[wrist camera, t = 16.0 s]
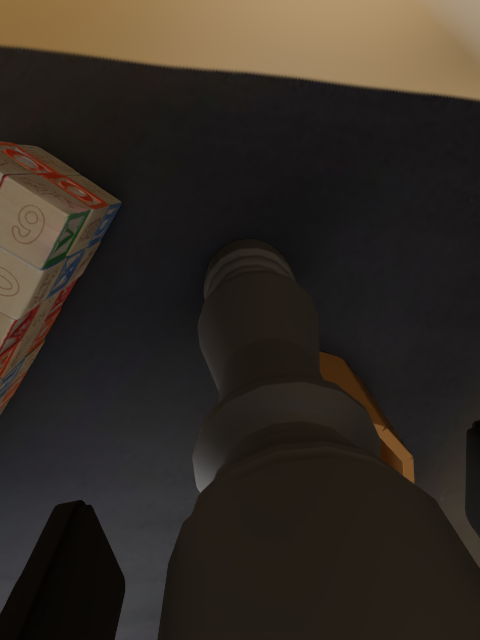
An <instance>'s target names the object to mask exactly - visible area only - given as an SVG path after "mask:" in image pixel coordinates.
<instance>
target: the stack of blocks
mask: <svg viewBox="0 0 480 640" xmlns="http://www.w3.org/2000/svg"><path fill="white" fill-rule="evenodd" d="M121 204H122V202H121V201H120V200H118V199H117V198H115V197H113V196H112V195H110V194H109V193H107V192H106V191H104V190H103V189H101V188H100V187H99V186H97V185H96V184H94V183H93V182H91V181H90V180H88V179H87V178H85V177H83V176H82V175H80V174H79V173H78V172H77V171H75V170H74V169H72V168H71V167H69V166H68V165H66V164H65V163H63V162H62V161H60V160H59V159H57V158H56V157H54V156H53V155H51V154H50V153H48V152H46V151H45V150H43V149H41V148H39V147H36V146H30V145H19V144H14V143H10V142H1V141H0V415H1V414H2V412H3V410H4V408H5V407H6V405H7V403H8V402H9V400H10V398H11V397H12V396H13V395H14V393H15V392H16V390H17V388H18V387H19V385H20V383H21V381H22V380H23V378H24V376H25V374H26V373H27V371H28V369H29V367H30V366H31V364H32V363H33V361H34V359H35V358H36V356H37V354H38V352H39V351H40V349H41V347H42V345H43V343H44V342H45V336H46V335H47V333H48V332H49V330H50V328H51V326H52V324H53V323H54V321H55V319H56V317H57V316H58V314H59V312H60V311H61V307H62V305H63V303H64V302H65V300H66V298H67V297H68V295H69V293H70V291H71V290H72V288H73V286H74V284H75V282H76V281H77V279H78V277H80V276H81V275H82V274H83V272H84V270H85V269H86V267H87V265H88V264H89V262H90V260H91V258H92V257H93V255H94V253H95V251H96V250H97V248H98V246H99V244H100V242H101V239H102V238H103V236H104V234H105V233H106V231H107V229H108V227H109V226H110V224H111V222H112V220H113V219H114V217H115V215H116V213H117V211H118V210H119V208H120V206H121Z"/></svg>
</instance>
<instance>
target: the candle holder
mask: <svg viewBox="0 0 480 640" xmlns="http://www.w3.org/2000/svg"><path fill="white" fill-rule="evenodd" d="M203 291H204V299H205V301H204V305H203V308H202V311H201V315H200V318H199V321H198V326H197V328H198V335H199V343H200V349H201V351H202V354H203V356H204V358H205V360H206V363H207V365H208V367H209V370H210V372H211V374H212V377H213V379H214V381H215V384H216V386H217V389H218V391H219V403H218V404H217V405H216V406H215V407H214V408H213V410H212V411H211V412H210V413H209V414H208V415H207V416H206V417H205V418H204V420H203V423H202V426H201V429H200V432H199V435H198V438H197V441H196V444H195V447H194V450H193V455H192V461H193V467H194V473H195V480H196V486H197V488H198V490H199V491H200V494H199V496H198V499H197V501H196V504H195V507H194V510H193V512H192V515H191V516H190V517H189V518H188V519H187V520H185V521H184V522H183V524H182V527H181V530H180V533H179V535H178V538H177V541H176V544H175V547H174V549H173V552H172V555H171V558H170V560H169V563H168V570H167V577H166V584H165V591H164V598H163V605H162V612H161V619H160V626H159V634H158V640H480V569H479V567H478V566H477V564H476V562H475V561H474V559H473V558H472V556H471V555H470V553H469V552H468V550H467V548H466V547H465V545H464V544H463V542H462V541H461V539H460V538H459V536H458V534H457V533H456V531H455V530H454V528H453V527H452V525H451V524H450V522H449V520H448V519H447V517H446V516H445V514H444V513H443V511H442V510H441V508H440V507H439V505H438V503H437V502H436V500H435V499H434V498H432V497H431V496H430V495H428V494H427V493H426V492H424V491H423V490H422V489H420V488H419V487H418V486H416V485H415V484H414V483H412V482H411V481H410V480H408V479H407V478H406V477H404V476H403V475H402V474H400V473H399V472H398V471H396V470H395V469H394V468H392V467H391V466H390V465H388V464H387V463H386V462H384V461H383V460H382V459H380V454H381V439H380V437H379V435H378V433H377V430H376V428H375V426H374V424H373V422H372V419H371V417H370V415H369V413H368V411H367V410H366V408H365V407H364V406H363V405H362V404H361V403H360V402H359V401H357V400H356V399H355V398H353V397H352V396H351V395H350V394H348V393H347V392H346V391H345V390H343V389H342V388H341V387H340V386H338V385H337V384H336V383H334V382H330V381H326V380H324V379H323V377H322V374H321V372H320V358H319V316H318V313H317V311H316V309H315V307H314V305H313V303H312V301H311V298H310V296H309V295H308V293H307V292H306V291H305V290H304V289H303V288H302V287H300V286H299V285H298V284H297V283H296V279H295V277H294V275H293V273H292V271H291V269H290V267H289V265H288V263H287V262H286V260H285V259H284V257H283V256H282V255H281V254H280V253H279V252H278V251H277V250H276V249H275V248H273V247H272V246H271V245H270V244H268V243H265V242H262V241H259V240H256V239H242V240H235V241H233V242H231V243H229V244H227V245H225V246H224V247H222V248H220V250H219V251H218V252H217V253H216V254H215V256H214V257H213V258H212V259H211V260H210V263H209V266H208V270H207V273H206V276H205V282H204V288H203Z"/></svg>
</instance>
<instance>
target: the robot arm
mask: <svg viewBox="0 0 480 640" xmlns="http://www.w3.org/2000/svg"><path fill="white" fill-rule="evenodd" d="M465 511H466V516H467V518H468V521H469V523H470V525H471V526H472V528H473V529H474V530H475V532H476V533H477V535H478V536H479V537H480V420H478V421H475V422H474V423H473V424H472V428H471V429H468V430H467V444H466V496H465ZM124 594H125V579H124V576H123V573H122V571H121V569H120V567H119V565H118V562H117V560H116V558H115V556H114V553H113V551H112V549H111V547H110V545H109V542H108V540H107V538H106V536H105V534H104V531H103V529H102V527H101V525H100V523H99V520H98V518H97V516H96V514H95V512H94V509H93V507H92V506H91V505H86V504H85V502H84V501H82V500H78V501H73V502H68V503H63V504H58V505H57V506H55V508H54V509H53V511H52V513H51V515H50V517H49V519H48V521H47V523H46V525H45V527H44V529H43V531H42V533H41V535H40V537H39V540H38V542H37V544H36V546H35V548H34V550H33V552H32V554H31V556H30V558H29V560H28V562H27V564H26V566H25V568H24V570H23V572H22V574H21V576H20V577H19V579H18V581H17V582H16V584H15V586H14V588H13V590H12V592H11V594H10V596H9V598H8V600H7V602H6V604H5V606H4V608H3V610H2V612H1V614H0V640H115V635H116V631H117V626H118V622H119V617H120V613H121V608H122V604H123V599H124Z"/></svg>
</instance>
